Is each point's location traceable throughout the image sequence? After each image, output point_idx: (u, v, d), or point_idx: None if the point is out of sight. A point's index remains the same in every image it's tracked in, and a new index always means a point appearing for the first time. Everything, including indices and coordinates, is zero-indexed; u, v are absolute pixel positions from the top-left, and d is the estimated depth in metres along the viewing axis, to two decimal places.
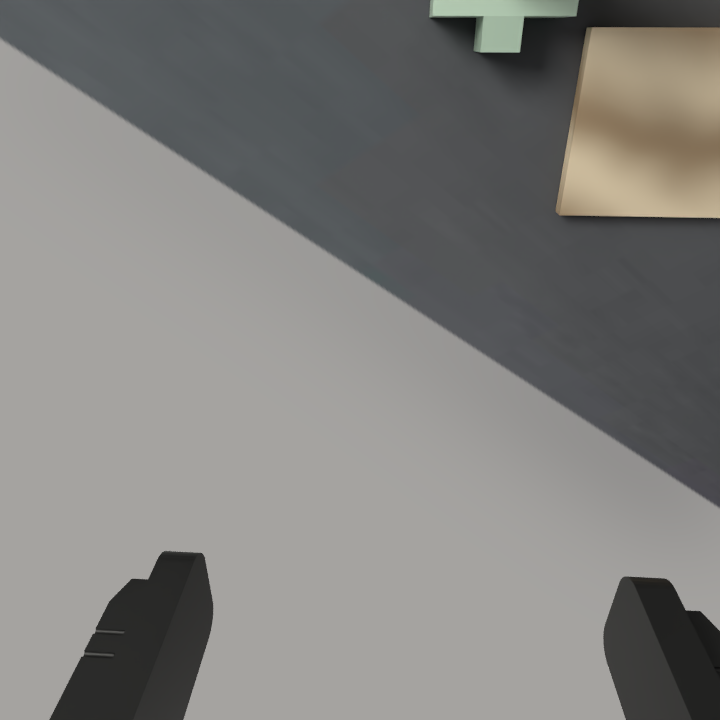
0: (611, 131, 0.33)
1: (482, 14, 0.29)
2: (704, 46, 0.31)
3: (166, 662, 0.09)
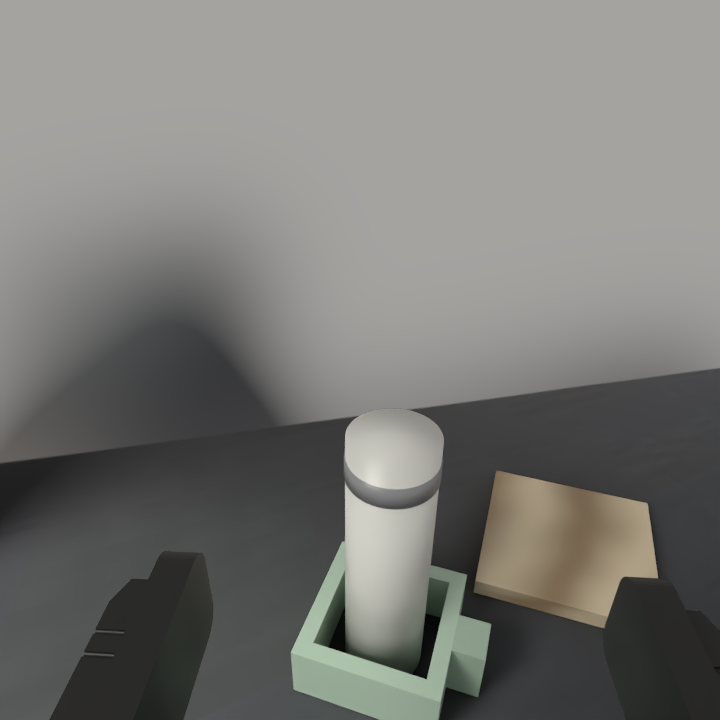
0: (570, 576, 0.33)
1: (449, 651, 0.27)
2: (502, 511, 0.38)
3: (166, 662, 0.09)
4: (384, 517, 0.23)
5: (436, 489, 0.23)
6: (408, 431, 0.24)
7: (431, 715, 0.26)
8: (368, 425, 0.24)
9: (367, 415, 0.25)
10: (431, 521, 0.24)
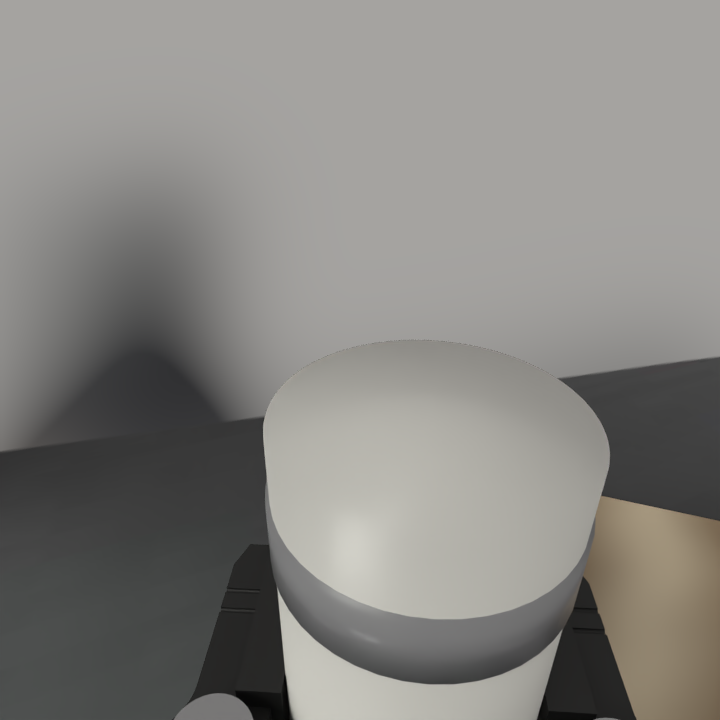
0: None
1: None
2: (602, 566, 0.21)
3: None
4: (398, 703, 0.06)
5: (576, 597, 0.07)
6: (476, 401, 0.07)
7: None
8: (346, 385, 0.07)
9: (344, 357, 0.08)
10: (545, 686, 0.08)
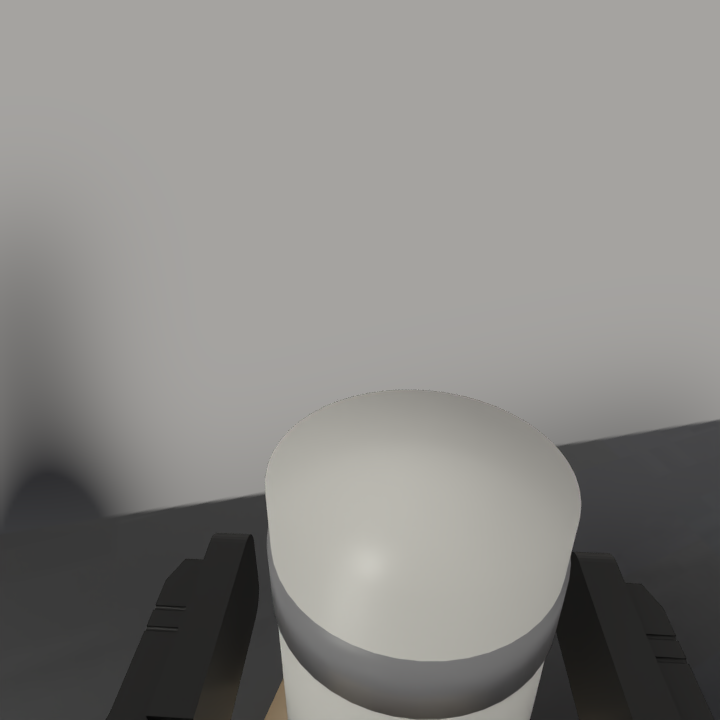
0: None
1: None
2: None
3: (226, 635, 0.10)
4: None
5: (554, 635, 0.07)
6: (461, 453, 0.08)
7: None
8: (342, 437, 0.08)
9: (340, 408, 0.09)
10: (529, 717, 0.08)
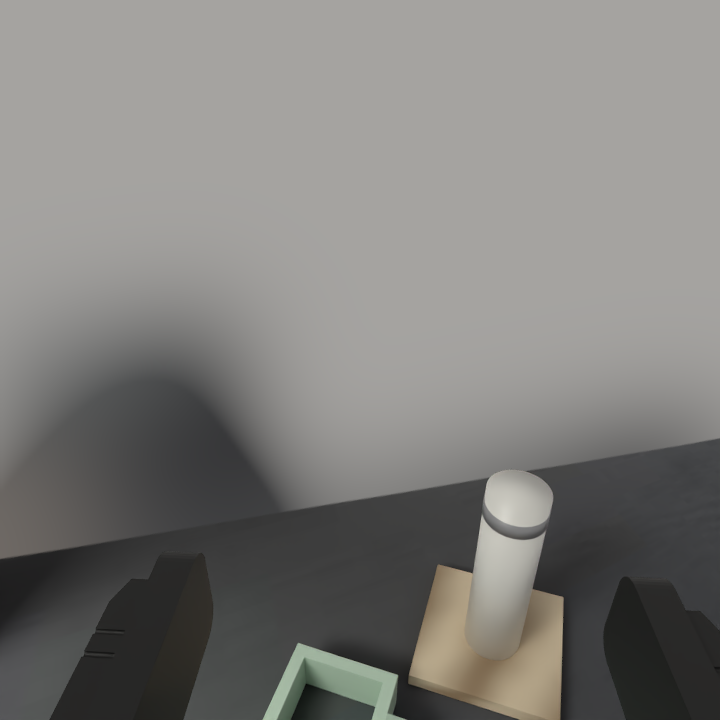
0: (488, 670, 0.40)
1: None
2: (439, 606, 0.44)
3: (166, 662, 0.09)
4: (514, 544, 0.35)
5: (547, 526, 0.35)
6: (527, 487, 0.36)
7: None
8: (500, 483, 0.36)
9: (497, 475, 0.37)
10: (541, 546, 0.36)
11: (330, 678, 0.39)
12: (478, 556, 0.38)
